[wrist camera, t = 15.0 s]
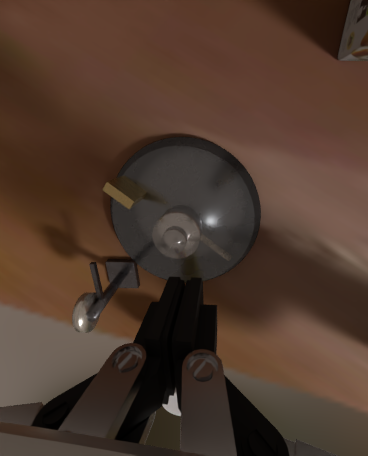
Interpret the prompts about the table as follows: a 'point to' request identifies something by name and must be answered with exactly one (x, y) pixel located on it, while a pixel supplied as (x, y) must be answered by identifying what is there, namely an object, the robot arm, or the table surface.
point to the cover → (178, 232)
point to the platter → (187, 196)
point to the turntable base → (218, 151)
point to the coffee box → (355, 33)
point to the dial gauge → (95, 302)
